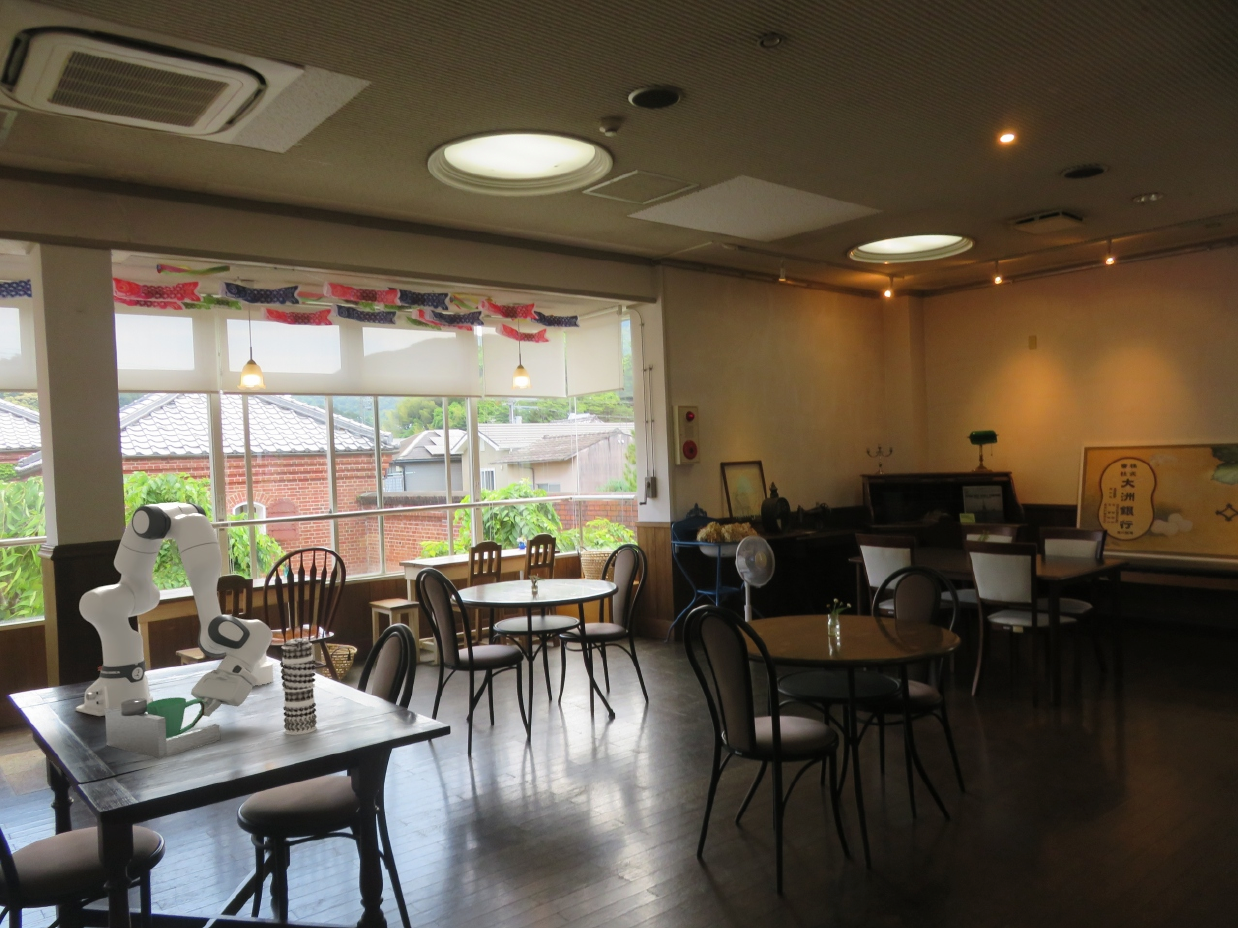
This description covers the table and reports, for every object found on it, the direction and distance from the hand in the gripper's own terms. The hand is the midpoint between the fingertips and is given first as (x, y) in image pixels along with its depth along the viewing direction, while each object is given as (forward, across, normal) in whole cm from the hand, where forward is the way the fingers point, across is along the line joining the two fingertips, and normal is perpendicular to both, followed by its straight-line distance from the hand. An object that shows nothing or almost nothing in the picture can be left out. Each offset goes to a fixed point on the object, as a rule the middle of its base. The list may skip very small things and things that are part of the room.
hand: (203, 714), depth 253 cm
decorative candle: (-5, +26, +12) cm, 29 cm away
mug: (+8, -1, -2) cm, 8 cm away
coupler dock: (+12, 0, -6) cm, 14 cm away
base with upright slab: (-27, -35, +34) cm, 56 cm away
